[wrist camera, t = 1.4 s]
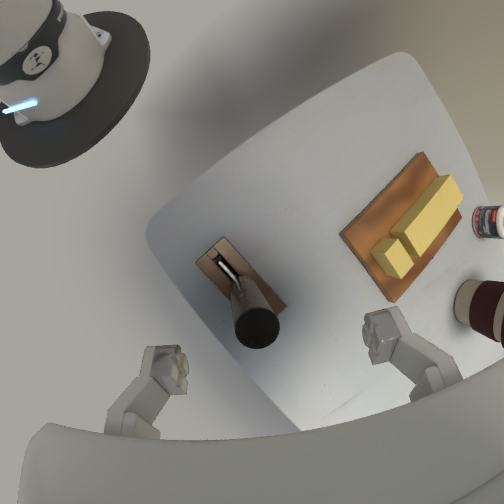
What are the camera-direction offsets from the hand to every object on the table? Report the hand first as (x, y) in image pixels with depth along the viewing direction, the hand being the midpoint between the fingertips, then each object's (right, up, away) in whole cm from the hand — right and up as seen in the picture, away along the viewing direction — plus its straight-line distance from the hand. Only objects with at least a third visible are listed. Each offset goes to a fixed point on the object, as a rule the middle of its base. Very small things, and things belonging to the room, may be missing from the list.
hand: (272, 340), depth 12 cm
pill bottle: (+38, +9, +25) cm, 46 cm away
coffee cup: (+35, -5, +25) cm, 44 cm away
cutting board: (+20, +7, +23) cm, 32 cm away
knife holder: (-2, 0, +21) cm, 21 cm away
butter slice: (+16, +3, +21) cm, 27 cm away
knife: (-2, 0, +21) cm, 21 cm away
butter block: (+22, +9, +22) cm, 32 cm away
